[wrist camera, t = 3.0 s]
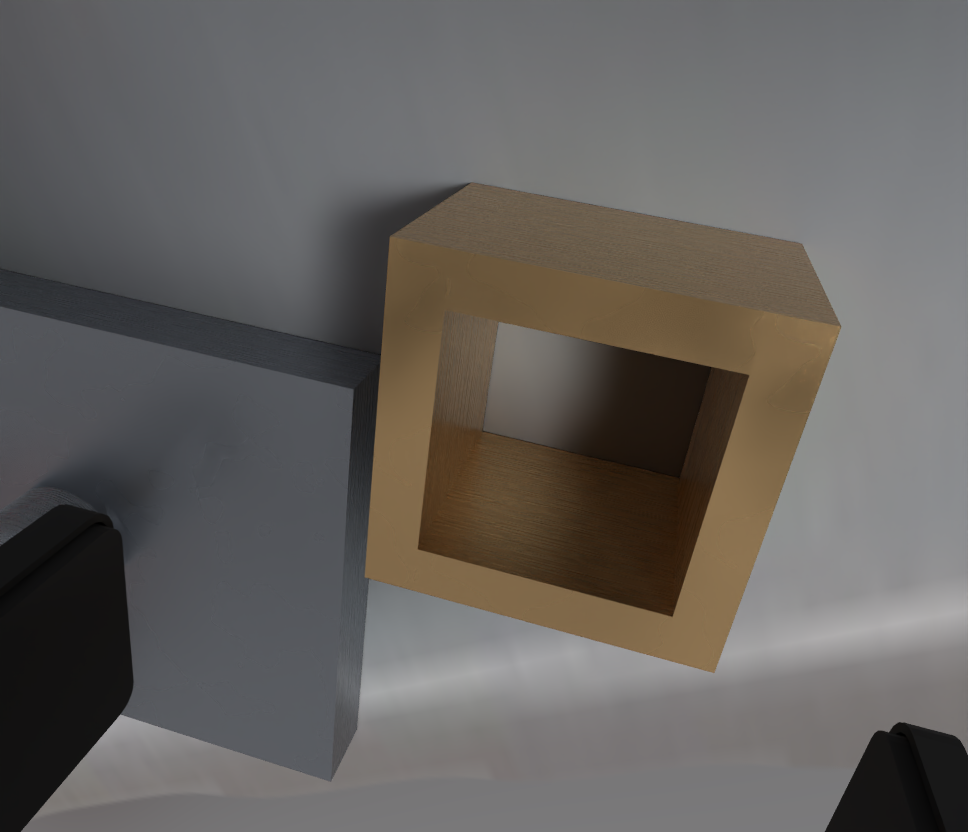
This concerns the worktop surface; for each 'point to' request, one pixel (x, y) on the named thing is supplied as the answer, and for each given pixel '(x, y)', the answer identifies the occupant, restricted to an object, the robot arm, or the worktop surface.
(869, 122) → the worktop surface
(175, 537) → the piston jig
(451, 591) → the wooden cubby shelf
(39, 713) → the robot arm
